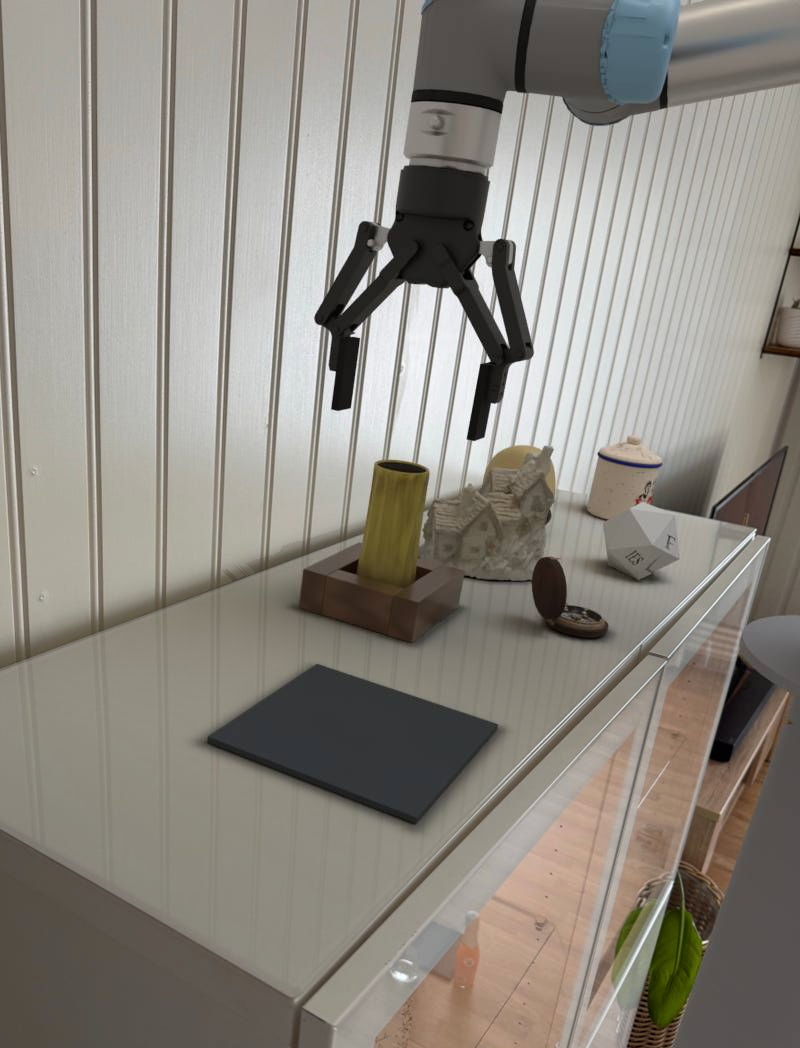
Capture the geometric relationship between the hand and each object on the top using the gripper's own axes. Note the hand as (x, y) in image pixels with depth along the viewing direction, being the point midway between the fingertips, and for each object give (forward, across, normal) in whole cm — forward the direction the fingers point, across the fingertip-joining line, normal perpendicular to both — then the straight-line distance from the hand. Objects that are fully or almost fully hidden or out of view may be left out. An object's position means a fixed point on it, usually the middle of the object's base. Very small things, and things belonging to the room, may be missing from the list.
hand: (406, 423), depth 88 cm
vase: (+18, 0, 0) cm, 18 cm away
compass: (+18, +16, +10) cm, 27 cm away
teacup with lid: (+18, +10, +62) cm, 66 cm away
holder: (+18, 0, 0) cm, 18 cm away
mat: (+18, +10, -25) cm, 33 cm away
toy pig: (+18, 0, +43) cm, 47 cm away
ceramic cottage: (+18, +2, +24) cm, 30 cm away
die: (+18, +18, +34) cm, 43 cm away
